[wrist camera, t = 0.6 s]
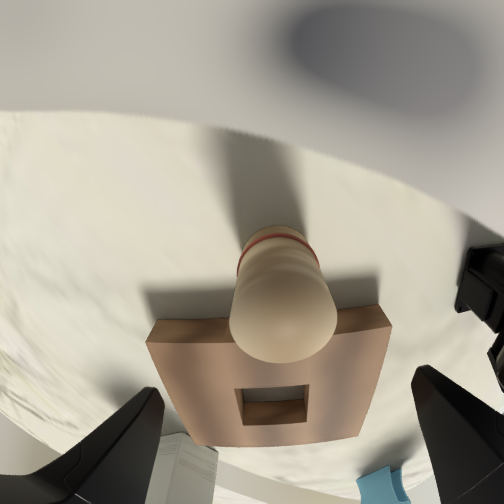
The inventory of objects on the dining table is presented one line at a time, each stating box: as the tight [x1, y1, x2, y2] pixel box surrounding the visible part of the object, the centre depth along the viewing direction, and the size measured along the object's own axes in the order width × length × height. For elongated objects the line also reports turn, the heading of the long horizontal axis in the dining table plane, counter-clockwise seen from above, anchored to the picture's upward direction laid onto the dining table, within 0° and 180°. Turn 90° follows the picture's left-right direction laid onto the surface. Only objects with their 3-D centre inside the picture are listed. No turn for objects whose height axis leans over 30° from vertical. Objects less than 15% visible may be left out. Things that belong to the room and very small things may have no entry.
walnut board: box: [145, 304, 392, 447], centre depth 22 cm, size 18×16×3 cm
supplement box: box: [145, 432, 219, 504], centre depth 24 cm, size 7×7×13 cm
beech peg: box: [229, 226, 337, 363], centre depth 15 cm, size 5×5×8 cm
